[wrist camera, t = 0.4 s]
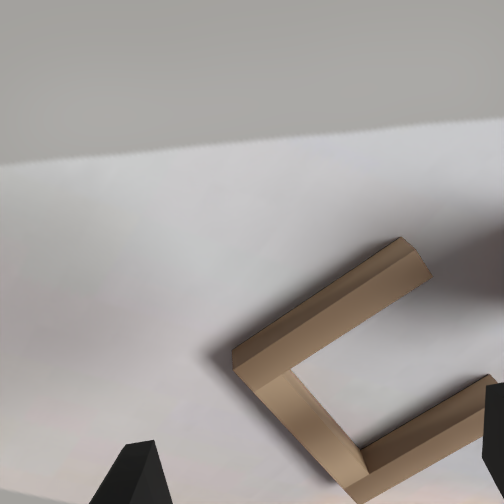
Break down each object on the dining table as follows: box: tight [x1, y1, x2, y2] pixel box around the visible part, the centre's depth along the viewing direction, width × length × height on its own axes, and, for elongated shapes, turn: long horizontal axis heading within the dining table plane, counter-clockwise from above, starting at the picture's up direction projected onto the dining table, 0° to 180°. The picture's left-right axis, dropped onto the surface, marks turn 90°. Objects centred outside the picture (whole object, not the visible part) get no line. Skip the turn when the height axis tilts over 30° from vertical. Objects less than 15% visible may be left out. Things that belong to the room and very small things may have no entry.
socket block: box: [232, 237, 497, 504], centre depth 21 cm, size 10×9×2 cm
